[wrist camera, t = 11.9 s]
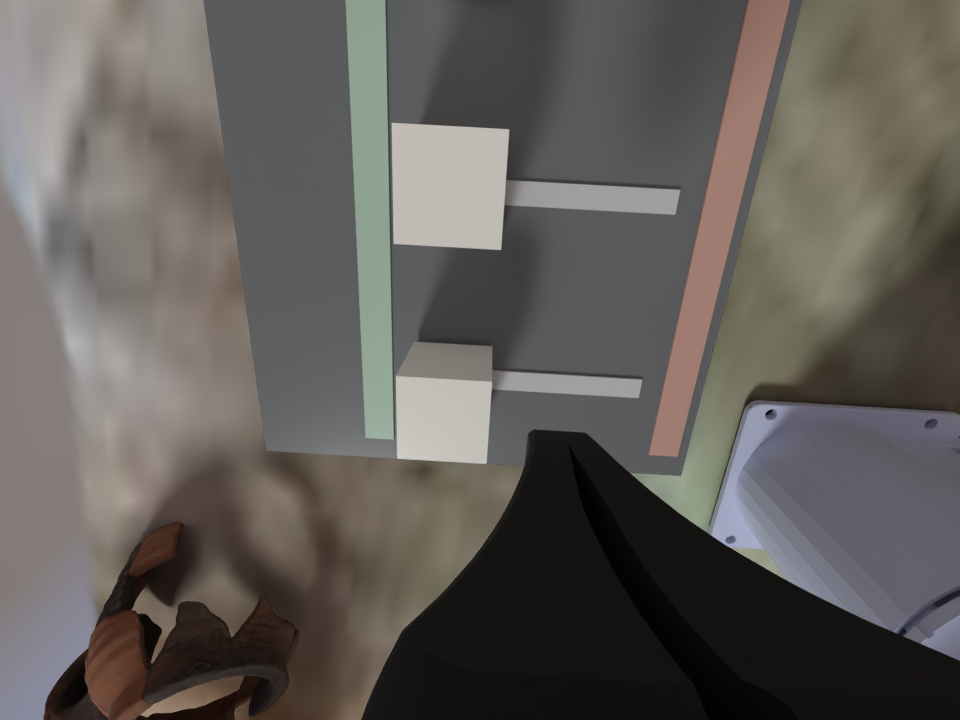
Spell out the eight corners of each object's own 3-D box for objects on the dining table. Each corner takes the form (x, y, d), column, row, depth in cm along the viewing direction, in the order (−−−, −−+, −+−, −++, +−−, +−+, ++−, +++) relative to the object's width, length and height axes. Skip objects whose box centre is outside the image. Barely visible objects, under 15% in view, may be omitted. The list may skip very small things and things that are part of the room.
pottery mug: (212, 479, 23) (206, 641, 17) (323, 540, 30) (346, 673, 24) (7, 609, 22) (-74, 824, 16) (166, 642, 29) (149, 804, 23)
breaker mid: (505, 143, 14) (509, 129, 11) (499, 238, 15) (501, 249, 12) (414, 138, 14) (391, 122, 11) (414, 233, 15) (393, 243, 12)
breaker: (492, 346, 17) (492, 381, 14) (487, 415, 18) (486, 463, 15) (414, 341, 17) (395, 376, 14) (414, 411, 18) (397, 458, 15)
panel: (812, -187, 13) (869, -255, 11) (664, 450, 21) (681, 477, 19) (210, -217, 13) (160, -289, 11) (286, 427, 21) (264, 451, 19)
